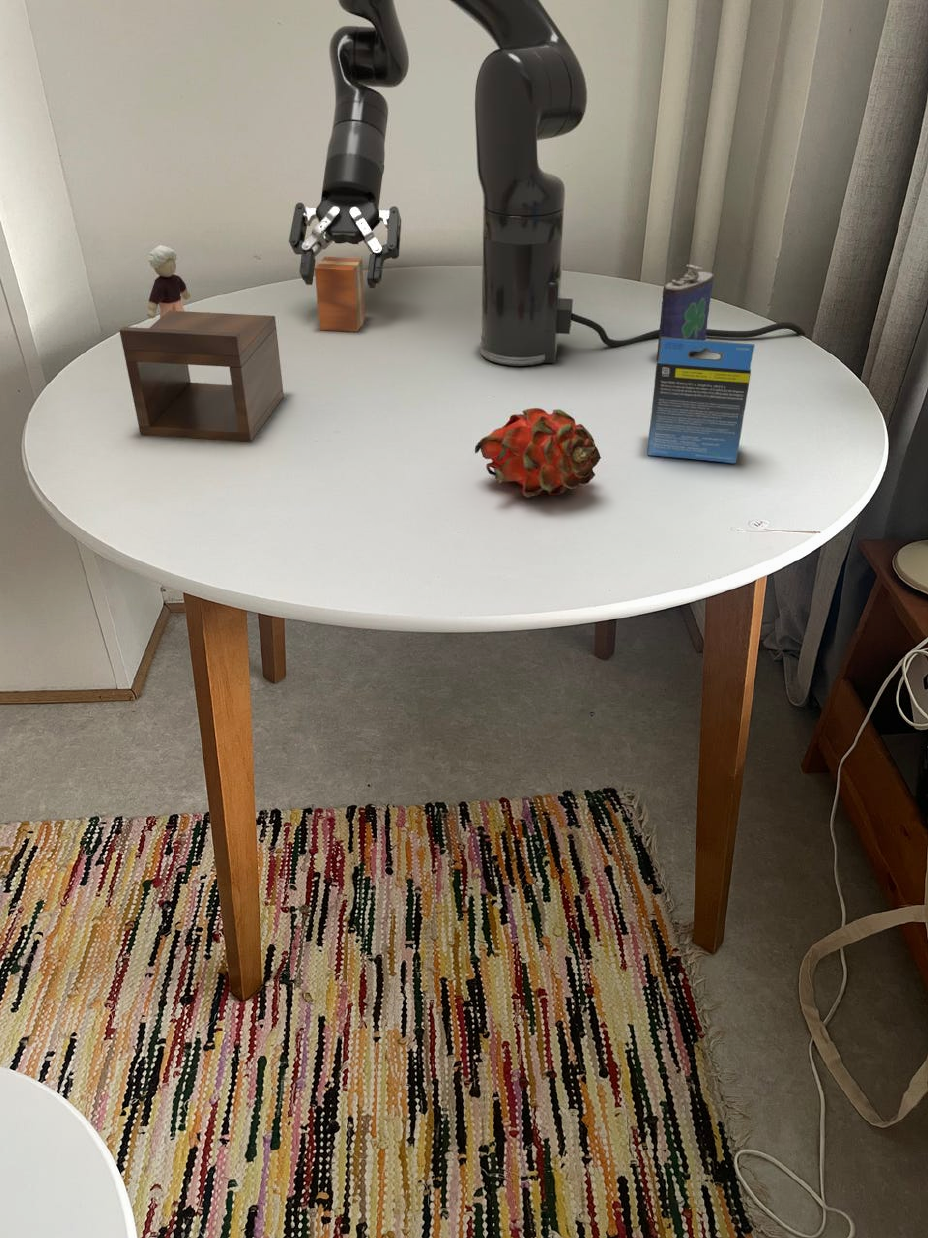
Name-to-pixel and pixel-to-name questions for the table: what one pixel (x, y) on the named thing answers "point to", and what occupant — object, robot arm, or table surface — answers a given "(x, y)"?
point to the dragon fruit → (541, 452)
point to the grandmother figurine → (165, 283)
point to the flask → (686, 306)
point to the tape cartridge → (699, 400)
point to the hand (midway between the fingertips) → (339, 283)
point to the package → (340, 293)
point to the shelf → (204, 407)
